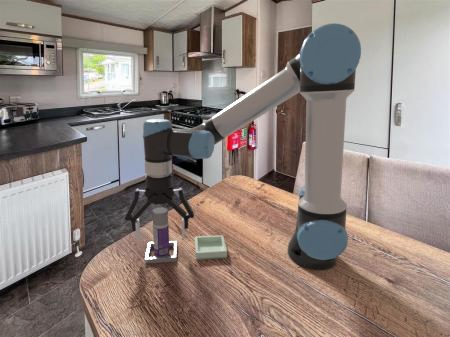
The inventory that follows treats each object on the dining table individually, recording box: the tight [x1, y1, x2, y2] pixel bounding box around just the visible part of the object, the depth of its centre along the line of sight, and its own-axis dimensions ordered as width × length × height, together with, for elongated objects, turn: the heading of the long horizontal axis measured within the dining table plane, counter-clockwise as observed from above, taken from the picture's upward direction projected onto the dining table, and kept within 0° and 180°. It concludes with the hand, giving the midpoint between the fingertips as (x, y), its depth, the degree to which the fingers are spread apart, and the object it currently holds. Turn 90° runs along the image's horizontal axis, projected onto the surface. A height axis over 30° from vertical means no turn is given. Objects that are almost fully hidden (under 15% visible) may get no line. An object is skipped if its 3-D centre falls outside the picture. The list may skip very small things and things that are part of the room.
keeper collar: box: [144, 240, 178, 264], centre depth 89 cm, size 9×9×2 cm
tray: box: [194, 234, 228, 261], centre depth 91 cm, size 10×10×2 cm
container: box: [152, 206, 170, 257], centre depth 87 cm, size 5×5×15 cm
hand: (161, 238), depth 88 cm, fingers open, 13 cm apart
